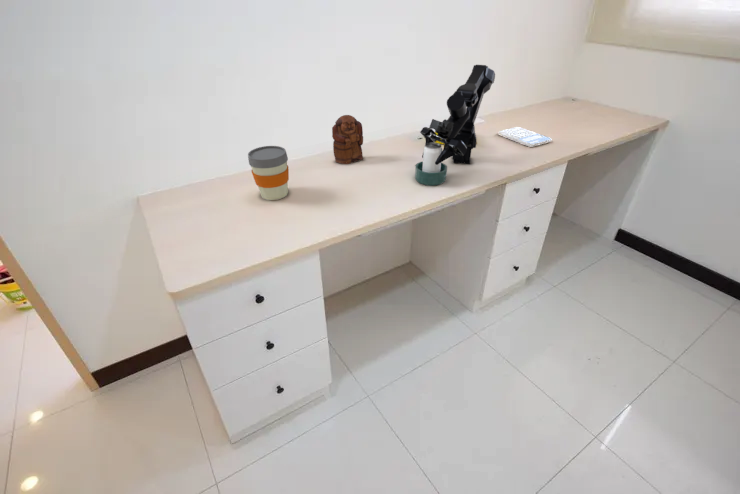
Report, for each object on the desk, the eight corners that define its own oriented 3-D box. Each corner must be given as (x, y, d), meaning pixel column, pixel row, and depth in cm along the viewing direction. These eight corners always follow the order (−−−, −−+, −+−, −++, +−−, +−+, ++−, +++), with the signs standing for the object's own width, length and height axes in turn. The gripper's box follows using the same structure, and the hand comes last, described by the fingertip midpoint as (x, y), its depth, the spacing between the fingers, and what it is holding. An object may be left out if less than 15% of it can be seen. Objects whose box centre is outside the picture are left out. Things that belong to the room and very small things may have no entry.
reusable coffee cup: (275, 206, 122) (267, 163, 113) (248, 197, 128) (238, 155, 119) (300, 190, 131) (294, 149, 122) (274, 183, 136) (266, 143, 127)
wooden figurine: (340, 166, 147) (337, 120, 137) (333, 160, 152) (329, 116, 141) (366, 159, 152) (364, 115, 142) (358, 154, 157) (356, 111, 146)
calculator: (517, 129, 179) (518, 125, 178) (552, 142, 165) (553, 138, 164) (496, 134, 174) (497, 130, 173) (531, 148, 160) (532, 143, 158)
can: (439, 181, 133) (442, 149, 126) (421, 180, 134) (423, 148, 127) (440, 173, 138) (443, 142, 131) (422, 172, 139) (424, 141, 132)
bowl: (445, 173, 140) (447, 161, 137) (445, 187, 131) (447, 174, 128) (415, 172, 142) (416, 159, 139) (413, 185, 133) (414, 172, 130)
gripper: (425, 103, 130) (400, 141, 132) (465, 116, 118) (437, 158, 119) (440, 121, 138) (416, 157, 140) (478, 135, 126) (452, 174, 128)
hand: (429, 161), depth 132 cm, fingers closed on can, 6 cm apart
